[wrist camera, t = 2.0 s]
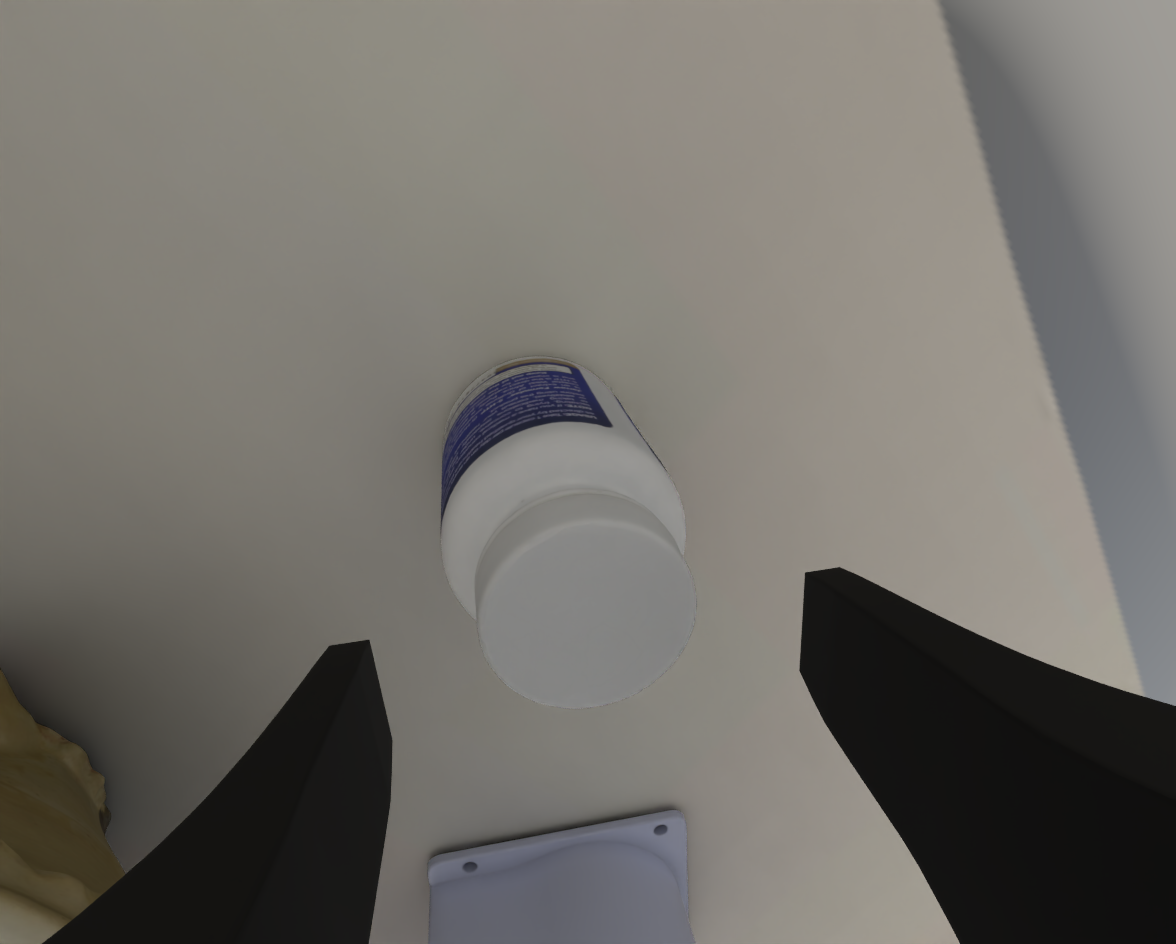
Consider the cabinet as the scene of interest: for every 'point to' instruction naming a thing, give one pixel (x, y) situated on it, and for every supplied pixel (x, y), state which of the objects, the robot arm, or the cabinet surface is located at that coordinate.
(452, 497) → the pill bottle
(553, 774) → the cabinet surface
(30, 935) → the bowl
